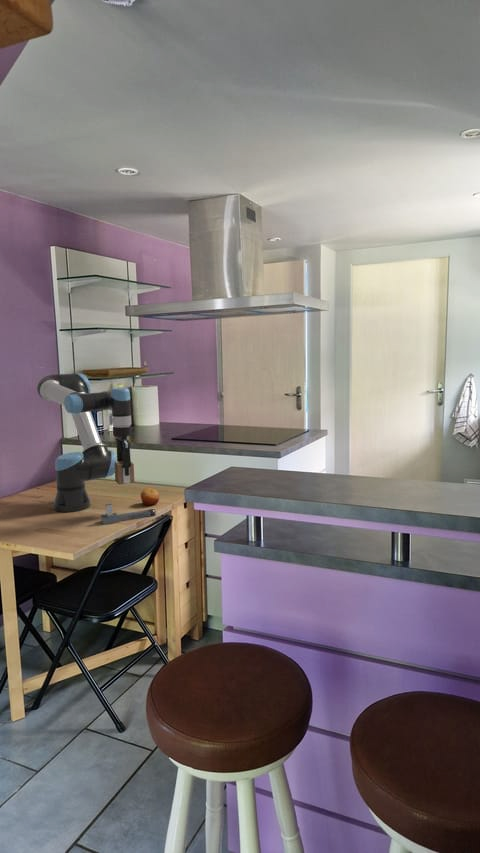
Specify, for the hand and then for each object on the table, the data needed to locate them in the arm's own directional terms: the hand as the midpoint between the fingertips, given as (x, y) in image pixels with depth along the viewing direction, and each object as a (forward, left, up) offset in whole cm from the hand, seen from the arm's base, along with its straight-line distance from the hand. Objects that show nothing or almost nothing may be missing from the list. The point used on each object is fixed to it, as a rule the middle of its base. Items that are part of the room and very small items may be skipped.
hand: (124, 481), depth 223 cm
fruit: (-7, +12, -14) cm, 19 cm away
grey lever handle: (+9, -1, -13) cm, 16 cm away
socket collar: (0, 0, 0) cm, 0 cm away
